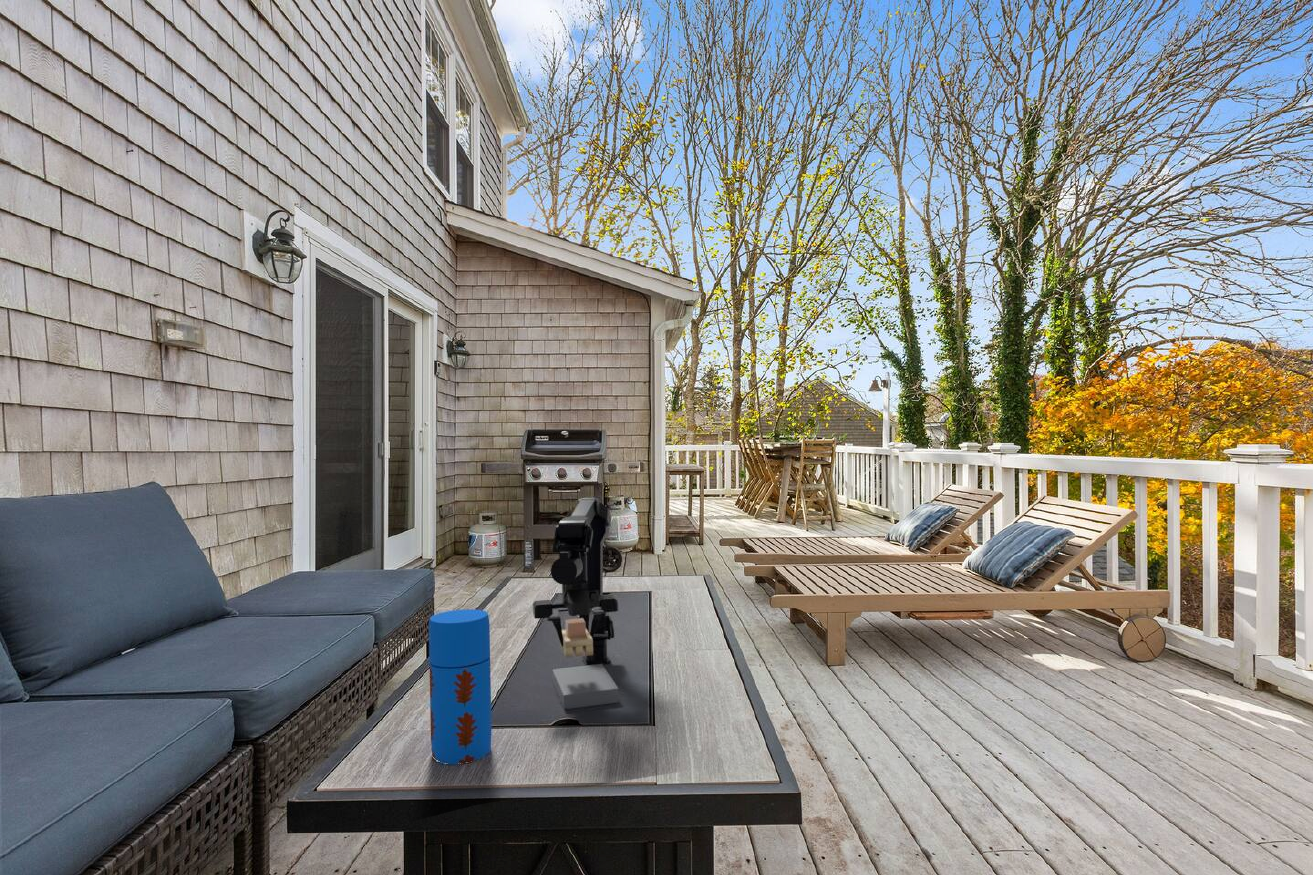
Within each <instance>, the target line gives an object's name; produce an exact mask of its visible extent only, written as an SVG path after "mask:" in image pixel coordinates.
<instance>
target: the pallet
mask: <svg viewBox="0 0 1313 875" xmlns="http://www.w3.org/2000/svg"><path fill="white" fill-rule="evenodd" d="M562 635H563V646H561V644H560V643H559V645H560V648H561V650H562V652H563V655H564V657H565V658H566V659H567V658H569V659H570V658H574V655H575V658H578V657H584V654H586V656H588V655H593V639H592V637H591V635H590V634H589V632H588V631H587V629H586V636H580V637H570V638H568V636H567V634H566V628H565V629H562ZM573 654H574V655H573Z"/></svg>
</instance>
